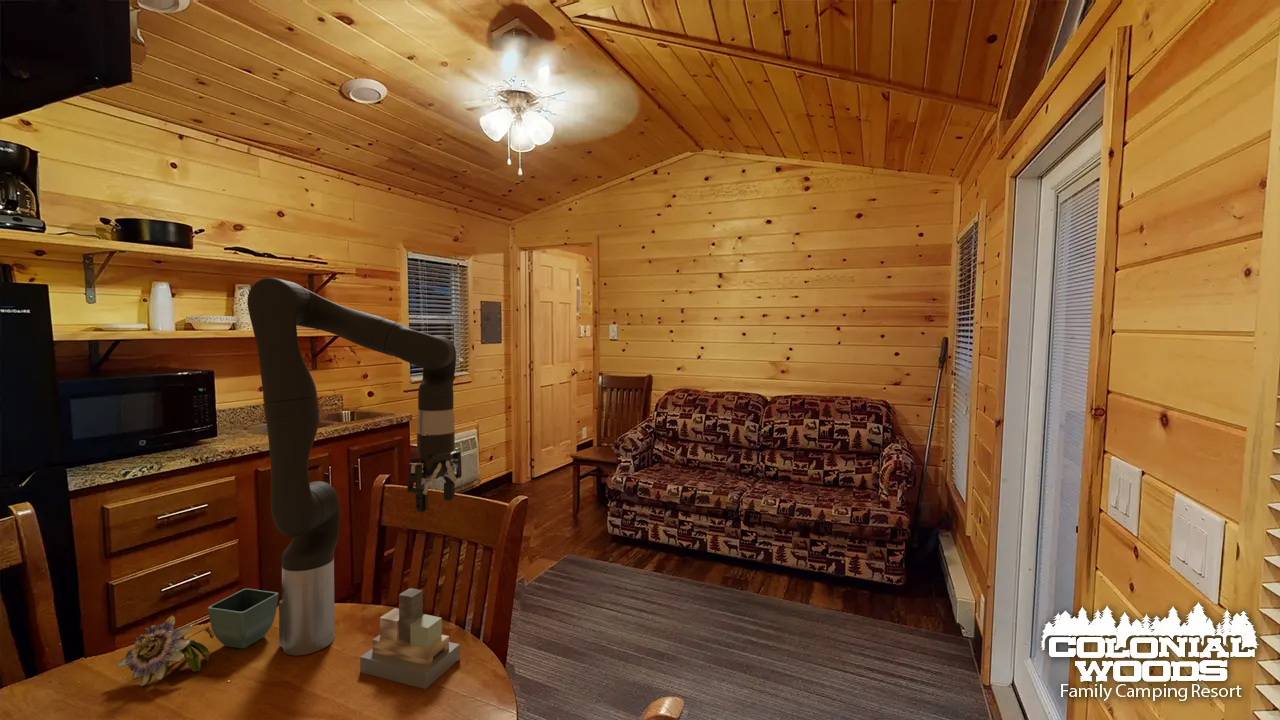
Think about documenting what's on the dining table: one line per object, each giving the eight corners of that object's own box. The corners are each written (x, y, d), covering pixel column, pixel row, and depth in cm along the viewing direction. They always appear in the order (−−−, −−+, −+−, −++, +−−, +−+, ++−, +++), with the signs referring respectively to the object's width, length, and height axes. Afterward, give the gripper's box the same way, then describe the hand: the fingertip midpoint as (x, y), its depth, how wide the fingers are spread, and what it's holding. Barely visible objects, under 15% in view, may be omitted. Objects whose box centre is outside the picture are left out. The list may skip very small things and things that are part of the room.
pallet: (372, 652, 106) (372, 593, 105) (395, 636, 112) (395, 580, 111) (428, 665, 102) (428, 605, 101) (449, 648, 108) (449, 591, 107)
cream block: (380, 637, 106) (379, 617, 106) (395, 627, 110) (395, 608, 110) (396, 641, 105) (396, 621, 105) (411, 631, 109) (411, 611, 109)
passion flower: (147, 712, 100) (95, 669, 97) (187, 666, 111) (141, 626, 108) (198, 679, 100) (148, 635, 97) (233, 636, 111) (188, 595, 107)
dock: (360, 672, 104) (360, 656, 104) (398, 644, 114) (398, 630, 114) (425, 689, 100) (425, 673, 100) (459, 658, 109) (459, 644, 109)
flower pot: (243, 656, 109) (242, 612, 108) (206, 650, 111) (205, 607, 110) (280, 633, 117) (279, 592, 117) (246, 628, 119) (245, 587, 119)
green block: (410, 644, 104) (410, 624, 104) (424, 634, 108) (424, 614, 108) (427, 648, 103) (427, 628, 103) (441, 637, 107) (441, 617, 107)
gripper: (443, 424, 124) (443, 494, 125) (396, 434, 111) (397, 513, 111) (471, 426, 122) (471, 498, 122) (427, 437, 108) (427, 518, 109)
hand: (435, 505), depth 117 cm, fingers open, 8 cm apart
